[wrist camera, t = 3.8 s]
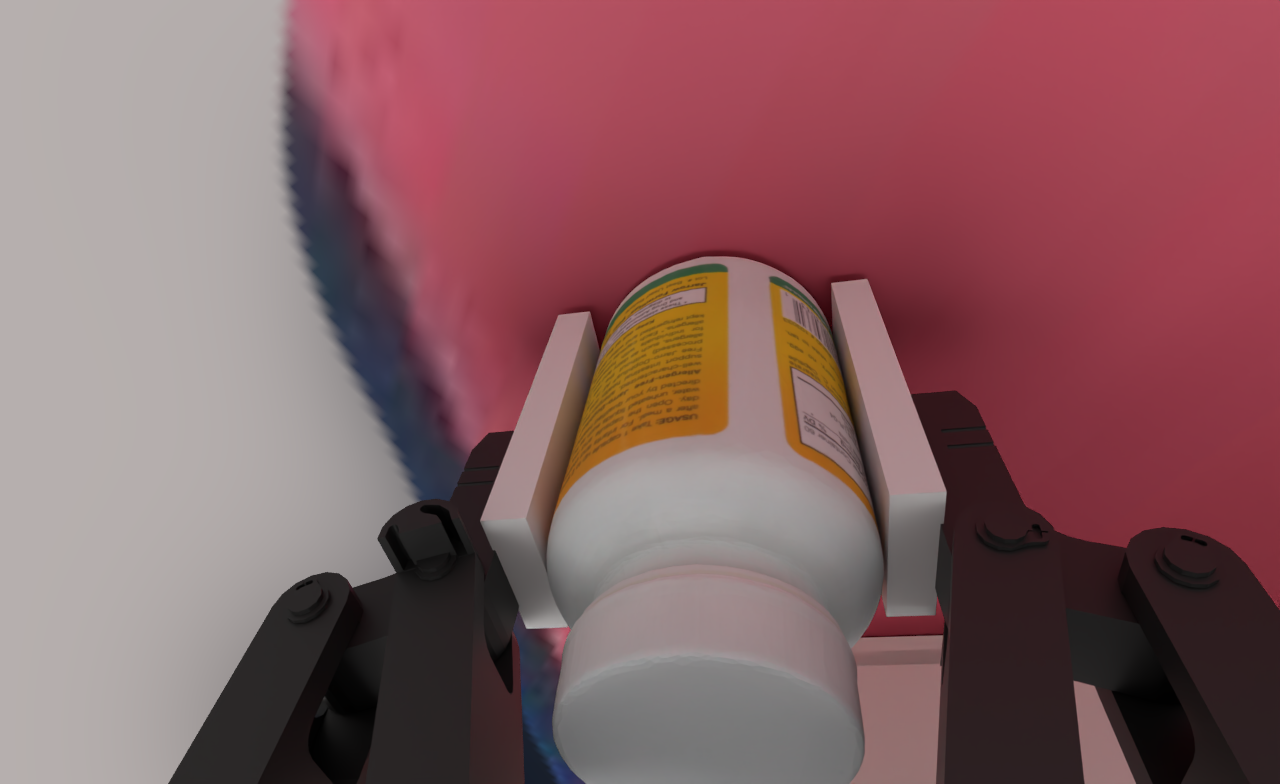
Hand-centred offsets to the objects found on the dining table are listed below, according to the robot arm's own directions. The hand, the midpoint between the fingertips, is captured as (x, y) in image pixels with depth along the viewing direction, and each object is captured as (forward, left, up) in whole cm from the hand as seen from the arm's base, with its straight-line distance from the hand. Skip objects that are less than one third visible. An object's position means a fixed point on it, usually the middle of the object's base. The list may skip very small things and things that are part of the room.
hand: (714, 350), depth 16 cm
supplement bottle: (0, 0, -1) cm, 1 cm away
